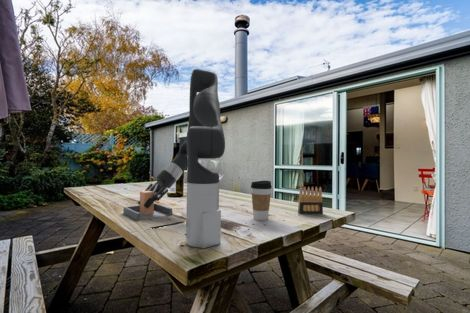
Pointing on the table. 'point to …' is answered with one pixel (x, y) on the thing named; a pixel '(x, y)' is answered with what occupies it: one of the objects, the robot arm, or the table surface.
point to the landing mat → (167, 225)
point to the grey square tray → (158, 212)
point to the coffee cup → (261, 199)
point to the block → (143, 199)
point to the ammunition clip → (310, 201)
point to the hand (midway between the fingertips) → (142, 205)
